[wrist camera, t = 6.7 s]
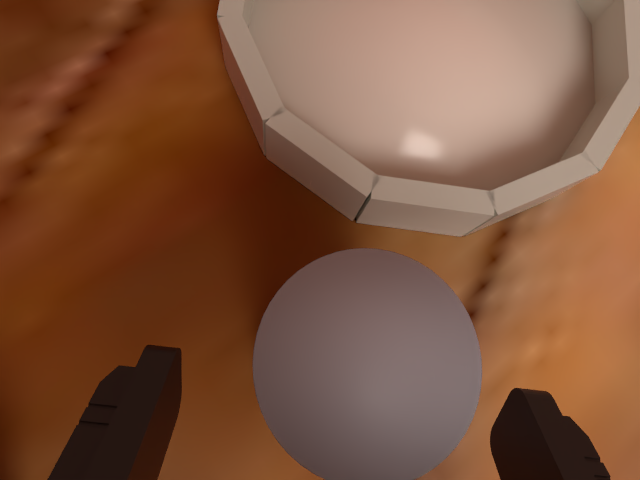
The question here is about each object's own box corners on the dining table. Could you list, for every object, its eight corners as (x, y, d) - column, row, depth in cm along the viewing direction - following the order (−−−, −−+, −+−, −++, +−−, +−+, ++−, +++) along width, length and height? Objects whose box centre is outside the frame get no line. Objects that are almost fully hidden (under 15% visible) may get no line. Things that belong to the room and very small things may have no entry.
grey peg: (254, 415, 17) (235, 476, 8) (271, 294, 18) (270, 234, 9) (374, 427, 17) (479, 499, 8) (383, 308, 18) (484, 262, 10)
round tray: (199, 201, 18) (186, 173, 16) (259, -127, 23) (258, -197, 20) (605, 256, 20) (663, 238, 17) (590, -66, 24) (634, -124, 21)
